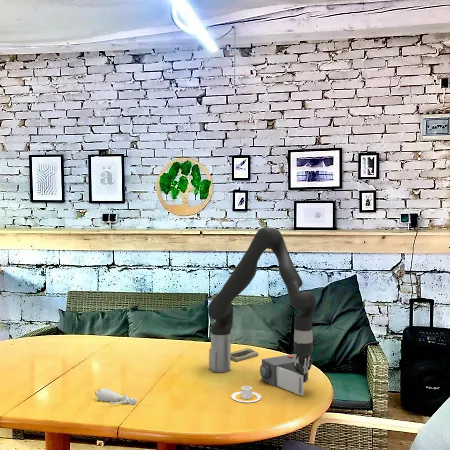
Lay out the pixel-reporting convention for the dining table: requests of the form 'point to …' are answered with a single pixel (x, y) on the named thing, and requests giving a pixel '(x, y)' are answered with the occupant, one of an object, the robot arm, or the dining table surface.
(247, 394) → the candle holder
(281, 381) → the side door
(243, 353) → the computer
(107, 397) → the woman figurine
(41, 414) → the dining table surface
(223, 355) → the robot arm
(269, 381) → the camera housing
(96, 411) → the dining table surface
